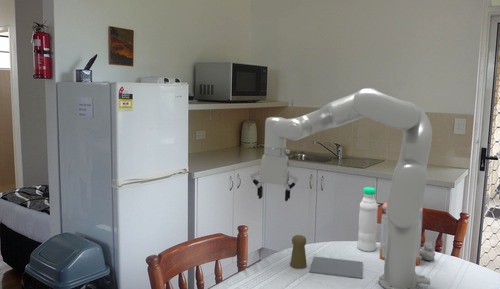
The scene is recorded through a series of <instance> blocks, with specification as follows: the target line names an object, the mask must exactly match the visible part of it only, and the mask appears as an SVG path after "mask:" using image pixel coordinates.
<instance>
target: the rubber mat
mask: <svg viewBox="0 0 500 289" xmlns="http://www.w3.org/2000/svg"><path fill="white" fill-rule="evenodd" d="M363 264H364V263H363V261H359V260H349V259H342V258H341V259H340V258H331V257H324V256H316V255H314V256H313V257H312V261H311V264H310V267H309V270H308V273H312V274H319V275H326V276H333V277H334V276H336V277H344V278H351V279H353V278H354V279H359V280H361V279H362V280H363V271H364V270H363V268H364V267H363Z"/></svg>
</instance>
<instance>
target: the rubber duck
mask: <svg viewBox="0 0 500 289" xmlns="http://www.w3.org/2000/svg"><path fill="white" fill-rule="evenodd" d="M433 248H434V246H433V244H432V242H431V241H430V240H428V241H425V242H424V244H423V246H421V249H420V258H422V259H423V260H424V261H425V260H426V261H431V260H434V258H435V256H436V254H435V251H434V250H433Z"/></svg>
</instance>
